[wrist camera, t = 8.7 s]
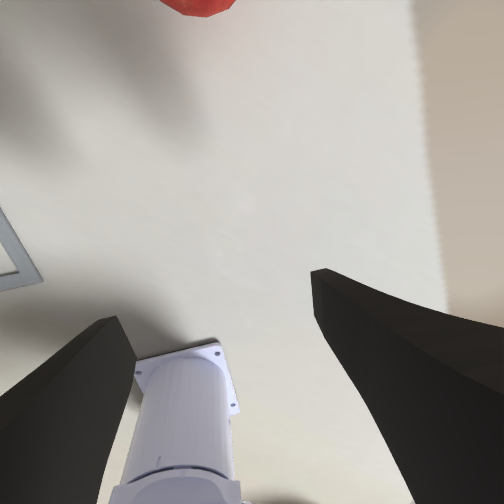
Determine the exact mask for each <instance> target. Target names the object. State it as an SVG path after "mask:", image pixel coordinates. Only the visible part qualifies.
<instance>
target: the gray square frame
mask: <svg viewBox="0 0 504 504" xmlns="http://www.w3.org/2000/svg"><path fill="white" fill-rule="evenodd" d="M0 242H1V244H2V246H3V247H4V249H5V250H6V252H7V254H8V255H9V257H10V258H11V260H12V262H13V263H14V265H15V266H16V268H17V270H18V271H19V273H14V274H10V275H5V276H0V291H3V290H8V289H13V288H17V287H22V286H27V285H31V284H36V283H41V282H43V279H42V277H41V276H40V274H39V272H38V271H37V269H36V267H35V266H34V264H33V262H32V261H31V259H30V257H29V255H28V254H27V252H26V250H25V249H24V247H23V245H22V244H21V242H20V240H19V239H18V237H17V235H16V234H15V232H14V230H13V229H12V227H11V225H10V223H9V222H8V220H7V218H6V217H5V215H4V213H3V212H2V210H1V208H0Z"/></svg>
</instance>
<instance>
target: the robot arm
mask: <svg viewBox="0 0 504 504" xmlns="http://www.w3.org/2000/svg"><path fill="white" fill-rule="evenodd" d="M310 273H311V285H312V296H313V308H314V316H315V318H316V321H317V323H318V325H319V327H320V329H321V331H322V333H323V336H324V338H325V339H326V341H327V343H328V344H329V346H330V347H331V349H332V351H333V352H334V354H335V355H336V357H337V359H338V360H339V362H340V363H341V365H342V366H343V368H344V369H345V371H346V373H347V374H348V376H349V377H350V379H351V380H352V382H353V384H354V385H355V387H356V388H357V390H358V391H359V393H360V395H361V397H362V398H363V400H364V402H365V403H366V405H367V407H368V409H369V411H370V413H371V415H372V417H373V418H374V420H375V422H376V424H377V426H378V428H379V430H380V432H381V434H382V436H383V438H384V440H385V442H386V444H387V446H388V448H389V450H390V452H391V454H392V456H393V458H394V460H395V462H396V464H397V466H398V468H399V470H400V472H401V474H402V476H403V478H404V480H405V482H406V484H407V487H408V489H409V491H410V493H411V495H412V497H413V499H414V501H415V503H416V504H504V328H502V327H497V326H493V325H489V324H484V323H481V322H476V321H472V320H468V319H464V318H459V317H456V316H452V315H449V314H445V313H442V312H439V311H435V310H432V309H429V308H425V307H422V306H419V305H416V304H413V303H410V302H407V301H404V300H402V299H399V298H396V297H393V296H391V295H388V294H386V293H383V292H381V291H378V290H376V289H373V288H371V287H369V286H366V285H364V284H362V283H359V282H357V281H355V280H353V279H350V278H348V277H346V276H344V275H341V274H339V273H337V272H335V271H332V270H330V269H327V268H325V269H320V270H316V271H311V272H310ZM216 352H218V353H216ZM136 360H137V357H136V355H135V353H134V351H133V349H132V347H131V345H130V343H129V340H128V338H127V336H126V334H125V332H124V330H123V328H122V326H121V324H120V322H119V320H118V318H117V316H113V317H109V318H104V319H100V320H98V321H96V322H95V323H93V324H92V325H91V326H89V327H88V328H87V329H85V330H84V331H83V332H81V333H80V334H79V335H78V336H76V337H75V338H74V339H73V340H71V341H70V342H69V343H68V344H66V345H65V346H64V347H63V348H61V349H60V350H59V351H58V352H56V353H55V354H54V355H53V356H52V357H50V358H49V359H48V360H47V361H45V362H44V363H43V364H42V365H40V366H39V367H38V368H37V369H35V370H34V371H33V372H31V373H30V374H29V375H28V376H26V377H25V378H24V379H22V380H21V381H20V382H18V383H17V384H16V385H15V386H13V387H12V388H11V389H9V390H8V391H7V392H6V393H4V394H3V395H2V396H0V504H96V503H97V499H98V495H99V490H100V486H101V482H102V478H103V474H104V471H105V467H106V464H107V460H108V457H109V454H110V451H111V448H112V445H113V442H114V439H115V436H116V433H117V430H118V427H119V424H120V421H121V418H122V415H123V412H124V409H125V406H126V403H127V399H128V396H129V393H130V390H131V387H132V382H133V377H135V379H136V381H137V383H138V385H139V387H140V389H141V391H142V393H143V395H144V397H143V400H142V404H141V408H140V411H139V415H138V419H137V422H136V426H135V430H134V433H133V437H132V441H131V444H130V448H129V452H128V455H127V459H126V463H125V466H124V470H123V474H122V477H121V481H120V485H118V486H114V487H113V490H112V493H111V497H110V500H109V504H252V503H251V502H250V501H241V489H240V481H238V480H235V474H234V460H233V445H232V431H231V415H235V414H238V413H239V411H240V407H239V404H238V400H237V397H236V393H235V390H234V387H233V383H232V380H231V376H230V373H229V369H228V366H227V363H226V359H225V356H224V352H223V349H222V345H221V344H220V343H217V342H216V343H211V344H207V345H203V346H198V347H194V348H190V349H186V350H182V351H178V352H173V353H169V354H165V355H161V356H157V357H153V358H148V359H144V360H140V361H136ZM139 371H140V372H139Z"/></svg>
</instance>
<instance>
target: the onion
mask: <svg viewBox="0 0 504 504" xmlns="http://www.w3.org/2000/svg"><path fill="white" fill-rule="evenodd" d="M160 1H161V2H163V3H164V4H166V5H168V6H169V7H171V8H173V9H174V10H176V11H178V12H179V13H181V14H183V15H187V16H198V17H209V16H212V15H214V14H217V13H219V12H222V11H224V10H227V9H229V8H230V7H231V5H232V4H233V3H234V2H235V1H236V0H160Z"/></svg>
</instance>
